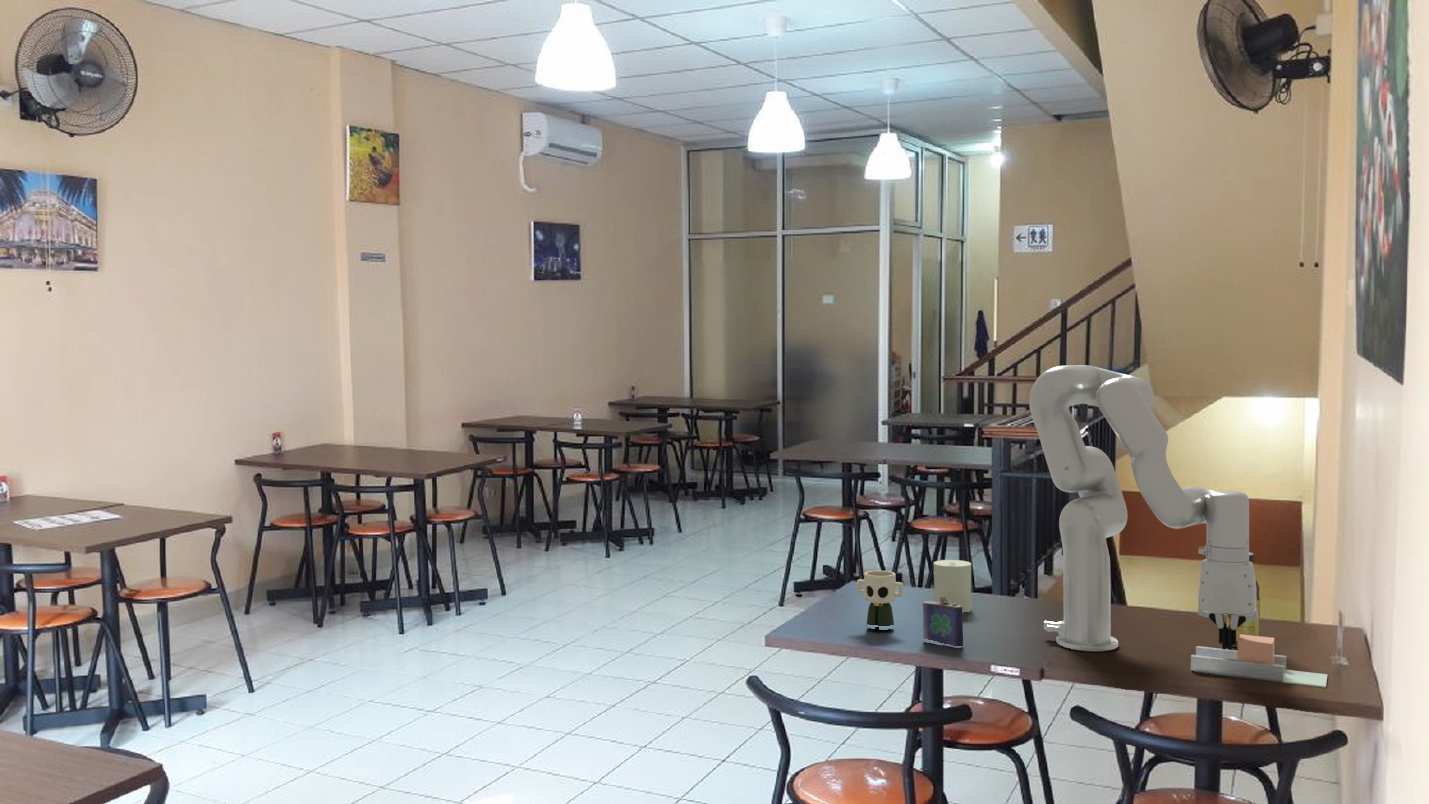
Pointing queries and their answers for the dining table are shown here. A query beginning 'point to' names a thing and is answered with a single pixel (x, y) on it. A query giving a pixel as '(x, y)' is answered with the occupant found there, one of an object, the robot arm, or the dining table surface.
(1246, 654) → the block
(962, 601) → the can
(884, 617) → the character mug
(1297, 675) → the pad
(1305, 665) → the dining table surface
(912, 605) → the dining table surface
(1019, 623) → the dining table surface
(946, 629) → the flask
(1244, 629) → the sauce bottle
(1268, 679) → the chute
